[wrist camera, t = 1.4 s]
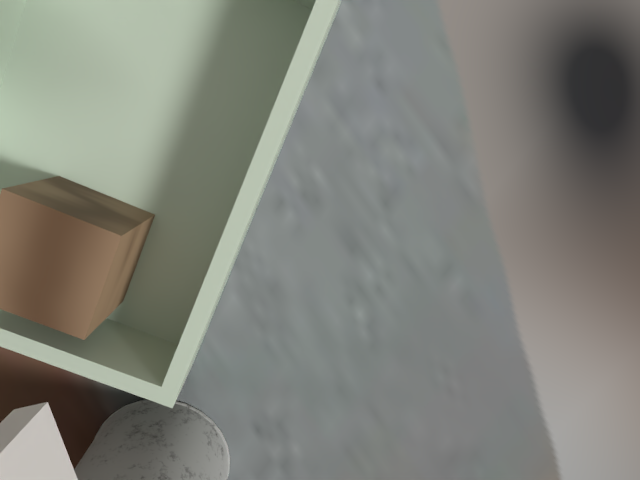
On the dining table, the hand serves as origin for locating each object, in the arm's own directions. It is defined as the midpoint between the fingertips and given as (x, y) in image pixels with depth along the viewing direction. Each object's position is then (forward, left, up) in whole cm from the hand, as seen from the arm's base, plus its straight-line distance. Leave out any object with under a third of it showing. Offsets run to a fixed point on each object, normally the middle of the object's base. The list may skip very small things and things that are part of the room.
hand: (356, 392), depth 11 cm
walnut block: (-12, -7, -21) cm, 26 cm away
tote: (-12, 0, -22) cm, 25 cm away
